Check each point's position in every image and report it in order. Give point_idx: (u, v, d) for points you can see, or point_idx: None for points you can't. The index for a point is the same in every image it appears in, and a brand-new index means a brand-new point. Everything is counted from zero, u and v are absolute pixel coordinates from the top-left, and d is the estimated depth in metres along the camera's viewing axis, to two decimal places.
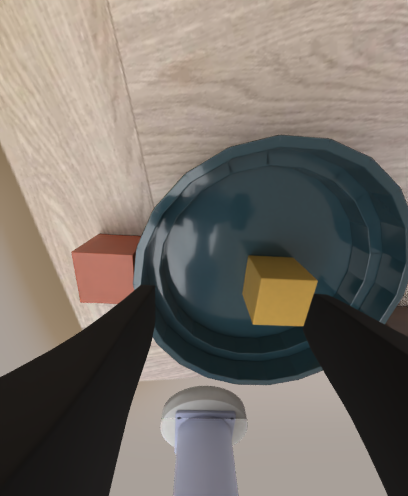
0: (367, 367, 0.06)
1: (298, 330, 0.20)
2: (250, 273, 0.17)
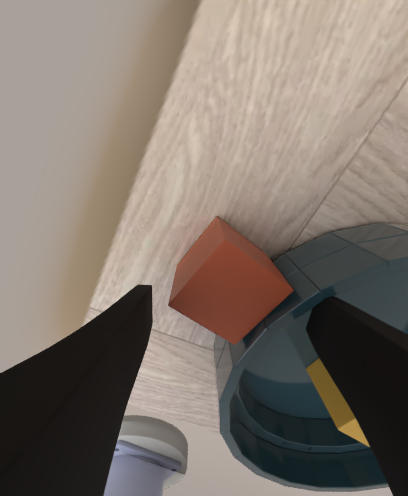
0: (372, 367, 0.06)
1: (324, 426, 0.18)
2: None
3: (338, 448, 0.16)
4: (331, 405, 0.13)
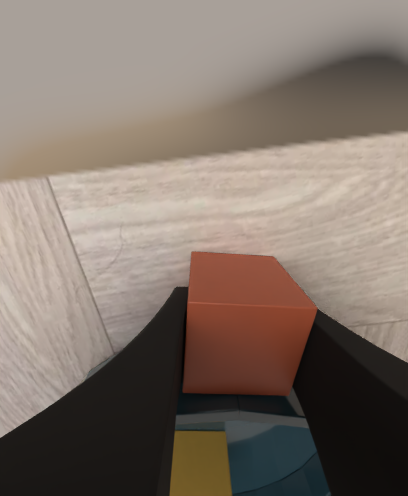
0: (318, 365, 0.06)
1: None
2: (213, 459, 0.12)
3: None
4: None
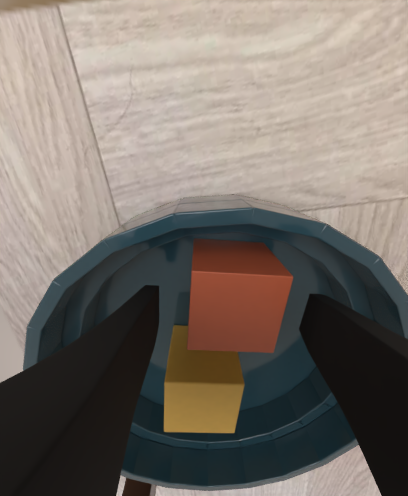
0: (362, 367, 0.06)
1: None
2: None
3: None
4: (175, 362, 0.11)
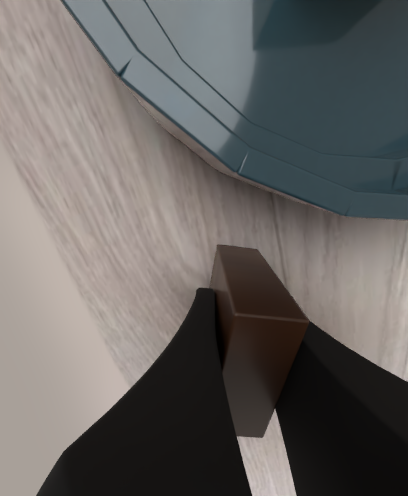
0: None
1: None
2: None
3: (174, 59, 0.05)
4: None
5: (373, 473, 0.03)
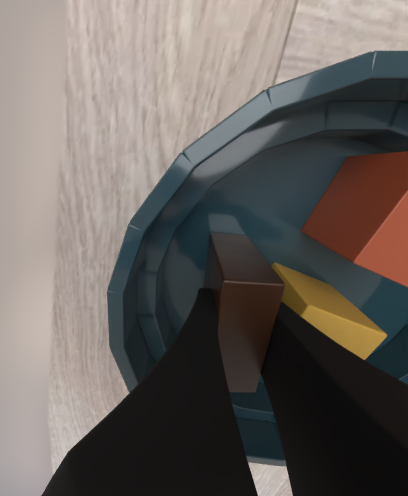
0: (285, 364, 0.06)
1: (166, 324, 0.12)
2: (333, 293, 0.11)
3: (161, 348, 0.11)
4: (303, 291, 0.09)
5: (367, 473, 0.03)
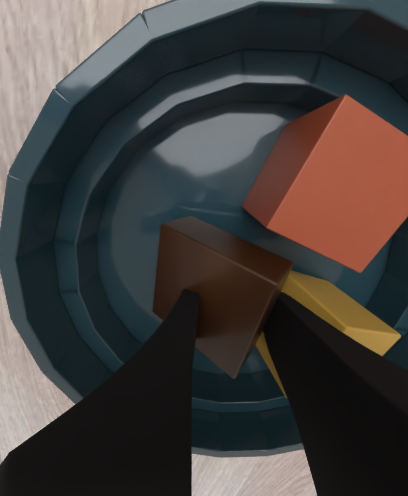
0: (306, 365, 0.06)
1: (103, 305, 0.11)
2: (340, 294, 0.10)
3: (91, 329, 0.10)
4: (328, 305, 0.08)
5: (406, 473, 0.03)
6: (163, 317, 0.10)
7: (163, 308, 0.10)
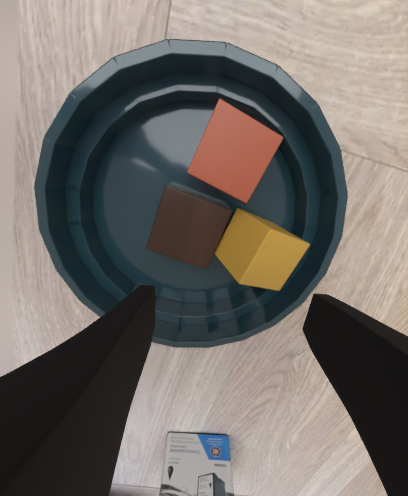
0: (367, 367, 0.06)
1: (96, 240, 0.17)
2: (277, 226, 0.15)
3: (87, 252, 0.15)
4: (264, 223, 0.13)
5: None
6: (157, 249, 0.15)
7: (158, 242, 0.15)
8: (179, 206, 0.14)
